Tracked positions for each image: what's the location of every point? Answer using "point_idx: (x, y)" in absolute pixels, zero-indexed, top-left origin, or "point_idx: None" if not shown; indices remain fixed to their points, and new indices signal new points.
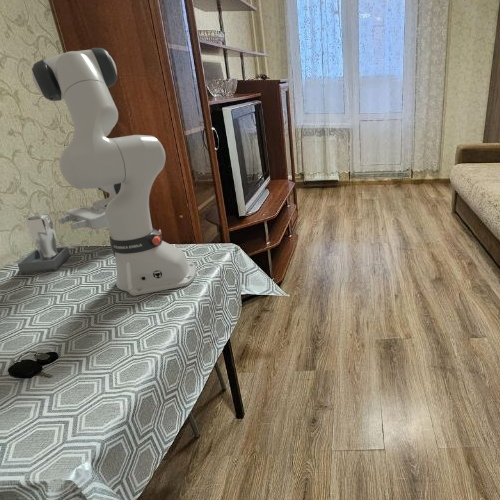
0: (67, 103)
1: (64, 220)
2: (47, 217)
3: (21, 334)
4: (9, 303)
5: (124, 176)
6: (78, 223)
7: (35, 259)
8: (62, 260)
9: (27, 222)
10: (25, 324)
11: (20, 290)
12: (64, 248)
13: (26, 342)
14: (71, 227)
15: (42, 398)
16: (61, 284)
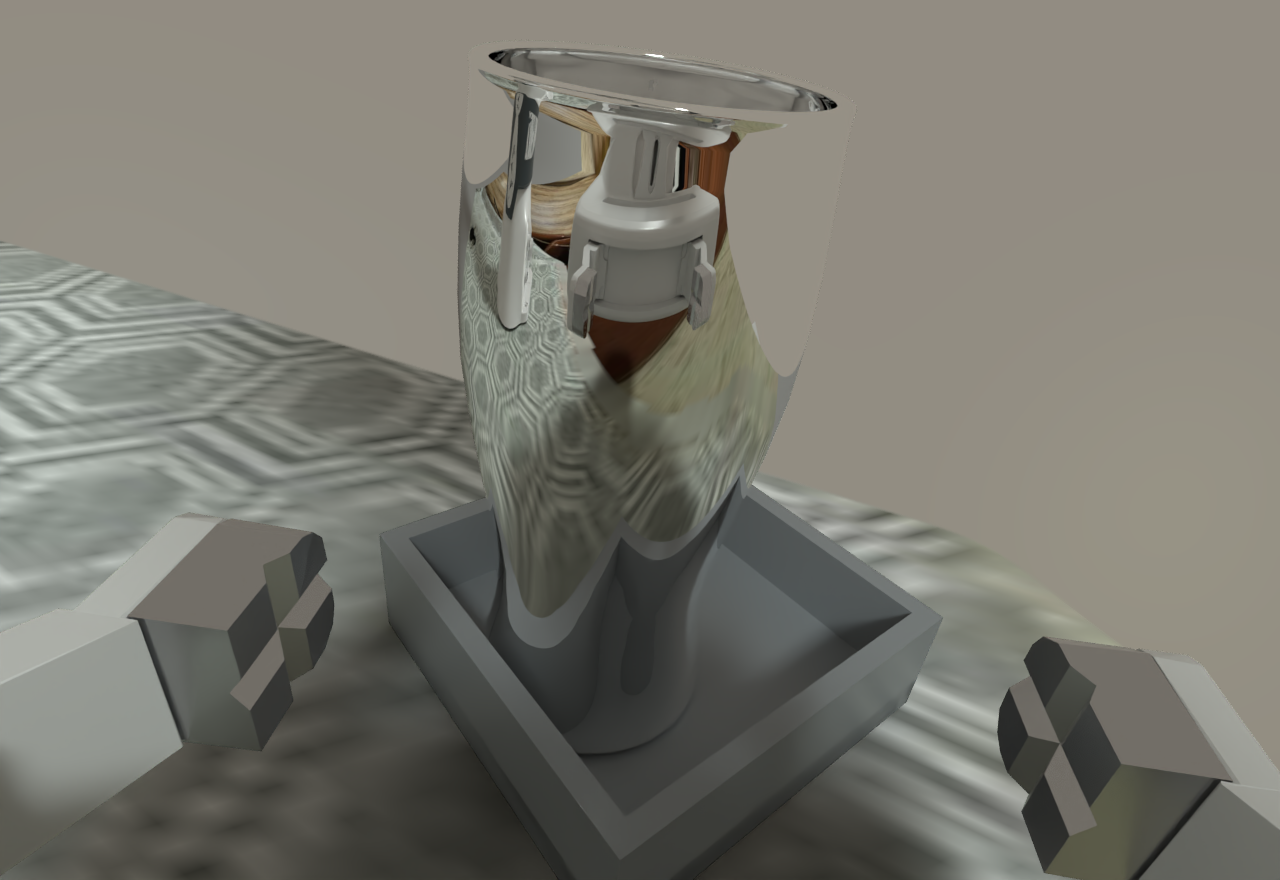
0: None
1: (1076, 788)
2: (476, 73)
3: (31, 284)
4: (335, 355)
5: None
6: (41, 642)
7: (830, 634)
8: (466, 714)
9: (687, 101)
10: (66, 307)
11: (408, 414)
12: (590, 782)
13: None
14: (312, 596)
15: None
16: (119, 507)
